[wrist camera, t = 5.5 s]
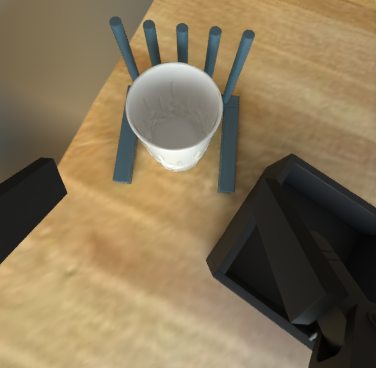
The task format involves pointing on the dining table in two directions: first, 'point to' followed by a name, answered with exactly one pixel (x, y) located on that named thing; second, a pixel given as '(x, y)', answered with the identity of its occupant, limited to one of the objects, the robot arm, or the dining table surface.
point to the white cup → (174, 113)
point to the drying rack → (229, 102)
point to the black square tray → (315, 221)
